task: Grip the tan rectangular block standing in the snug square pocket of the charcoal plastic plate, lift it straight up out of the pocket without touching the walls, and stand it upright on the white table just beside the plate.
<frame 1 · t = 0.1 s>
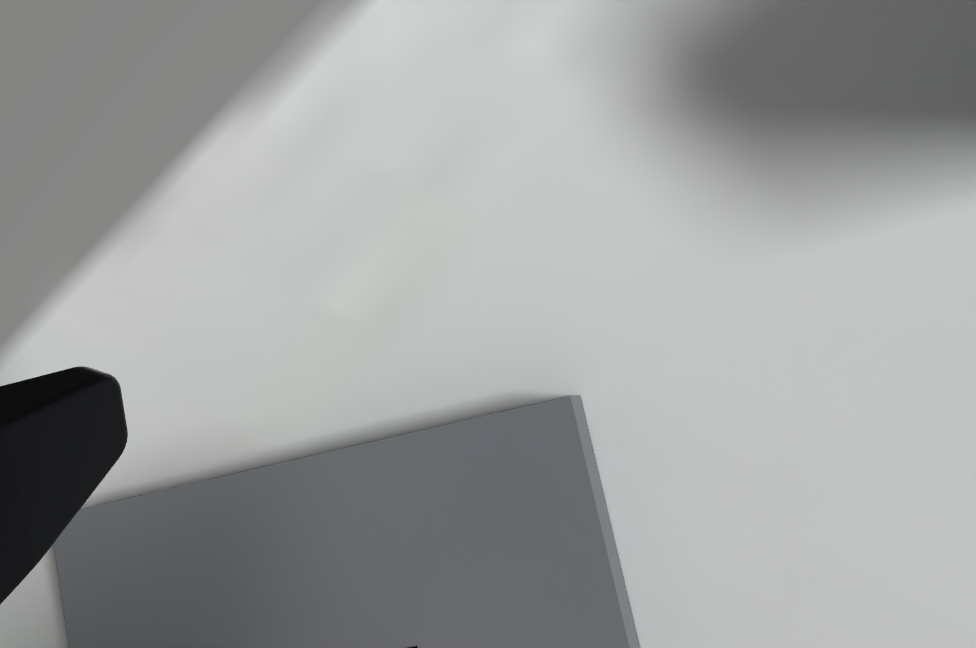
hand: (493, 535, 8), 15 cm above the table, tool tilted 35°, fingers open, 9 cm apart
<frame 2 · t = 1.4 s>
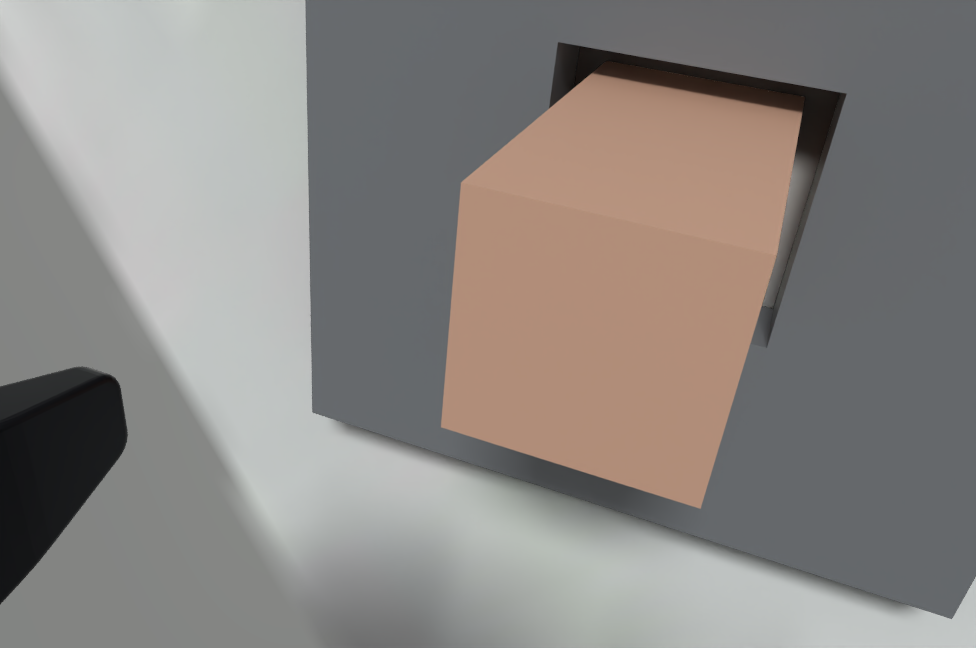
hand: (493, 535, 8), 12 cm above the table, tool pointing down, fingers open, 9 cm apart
pocket plate: (681, 172, 18), on the table
tan rectangular block: (644, 242, 15), in the pocket plate
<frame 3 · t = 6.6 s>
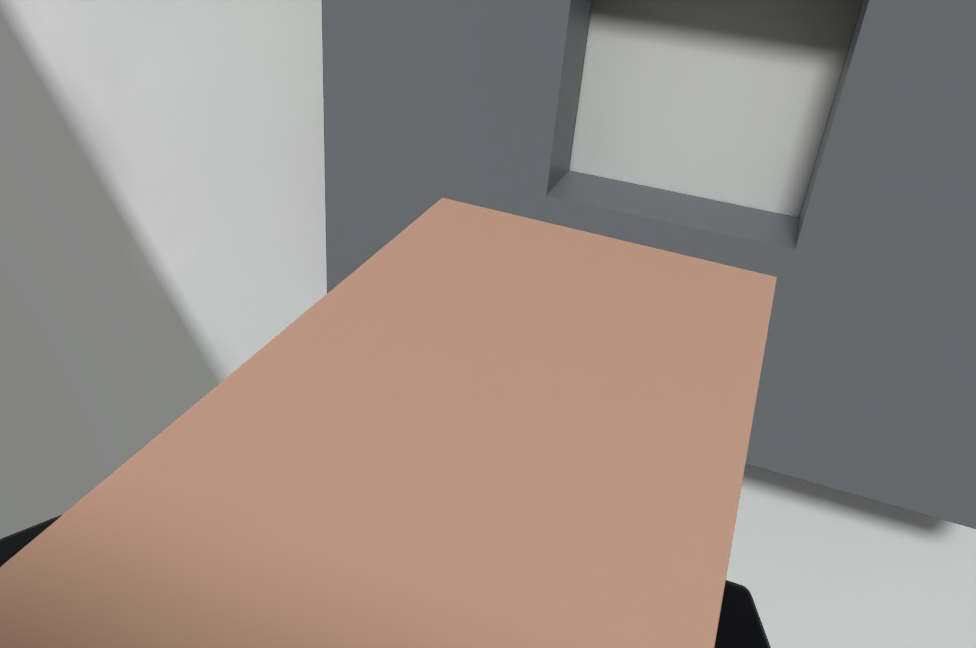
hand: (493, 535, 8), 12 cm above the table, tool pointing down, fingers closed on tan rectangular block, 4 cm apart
pocket plate: (704, 76, 18), on the table
tan rectangular block: (456, 603, 7), point 13 cm above the table, touching gripper
when the fingers open (4 cm above the table, at t = 9.8 s): tan rectangular block stays where it is, on the table.
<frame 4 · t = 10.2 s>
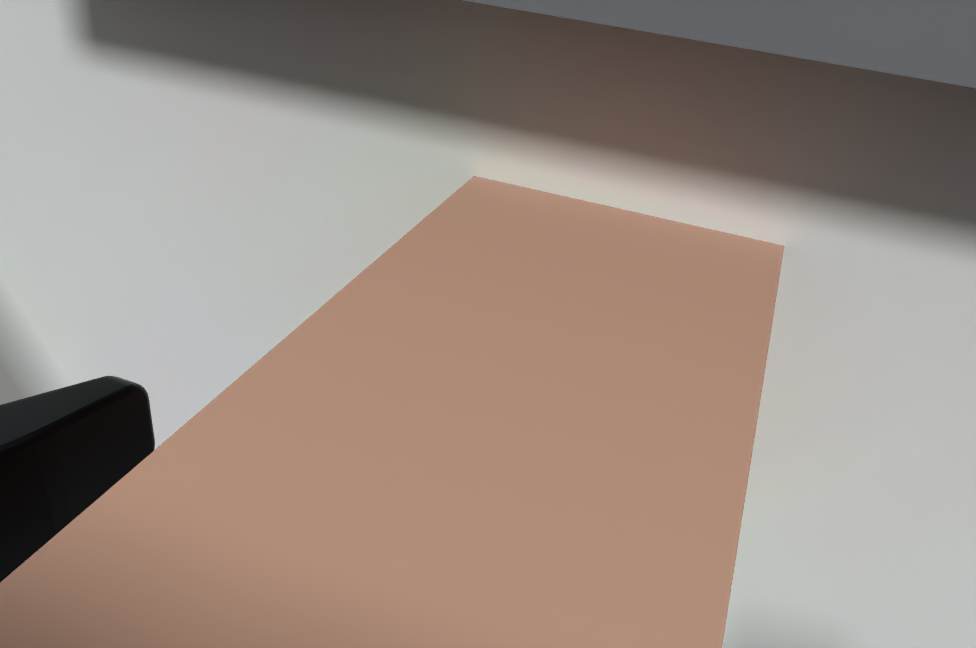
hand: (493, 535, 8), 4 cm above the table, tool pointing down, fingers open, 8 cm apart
tan rectangular block: (498, 535, 8), on the table
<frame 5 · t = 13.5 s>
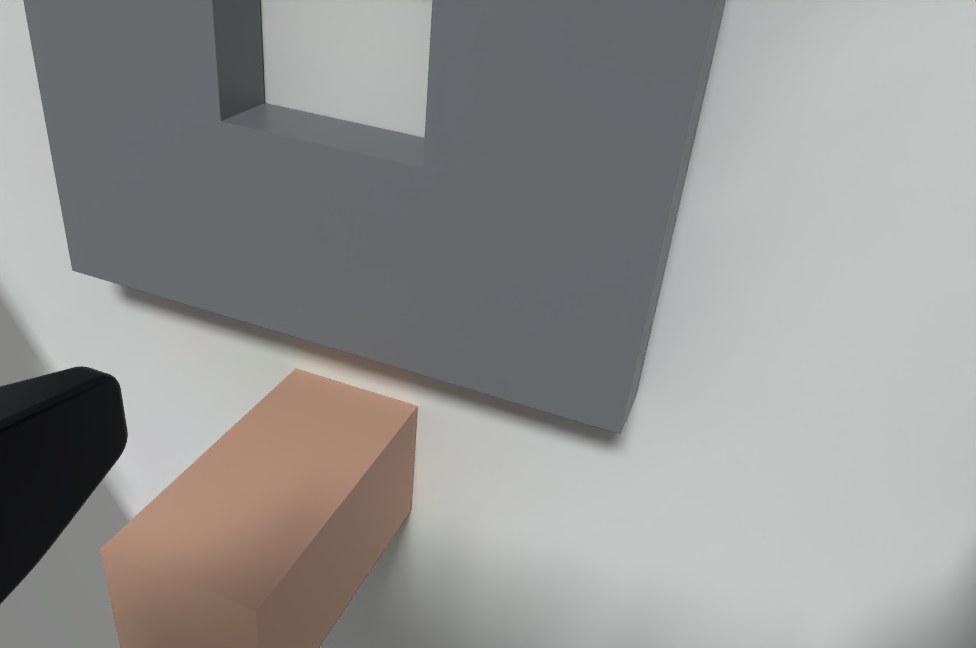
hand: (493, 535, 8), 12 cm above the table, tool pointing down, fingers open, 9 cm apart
pocket plate: (358, 11, 19), on the table
tan rectangular block: (282, 526, 22), on the table
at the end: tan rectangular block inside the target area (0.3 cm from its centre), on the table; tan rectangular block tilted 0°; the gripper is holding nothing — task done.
